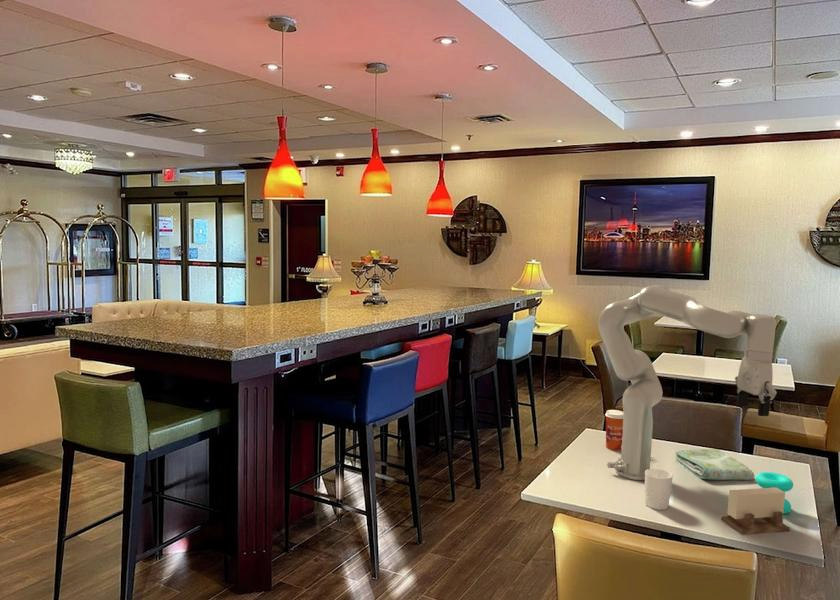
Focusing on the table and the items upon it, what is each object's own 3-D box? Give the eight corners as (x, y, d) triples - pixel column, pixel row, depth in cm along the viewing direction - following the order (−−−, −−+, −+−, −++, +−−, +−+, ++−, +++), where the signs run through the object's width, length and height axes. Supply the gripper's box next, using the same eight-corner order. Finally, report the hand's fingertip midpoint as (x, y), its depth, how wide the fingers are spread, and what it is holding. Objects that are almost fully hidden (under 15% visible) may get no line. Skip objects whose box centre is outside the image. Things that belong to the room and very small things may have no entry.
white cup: (667, 513, 187) (669, 480, 185) (640, 506, 191) (642, 474, 190) (672, 503, 193) (675, 472, 192) (646, 497, 197) (648, 466, 196)
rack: (741, 534, 174) (743, 517, 174) (720, 519, 183) (722, 503, 182) (789, 530, 177) (791, 513, 176) (766, 516, 186) (768, 500, 185)
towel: (718, 459, 233) (719, 445, 233) (754, 482, 212) (756, 467, 212) (671, 460, 231) (672, 446, 231) (703, 483, 210) (704, 468, 210)
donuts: (793, 486, 183) (755, 478, 188) (790, 518, 185) (752, 510, 190) (793, 474, 192) (756, 468, 197) (790, 506, 193) (753, 498, 198)
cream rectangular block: (735, 519, 177) (737, 495, 176) (727, 513, 180) (729, 490, 179) (782, 516, 179) (785, 492, 179) (774, 510, 183) (776, 487, 182)
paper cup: (604, 450, 239) (606, 414, 237) (602, 443, 246) (604, 408, 245) (625, 452, 237) (628, 416, 236) (622, 445, 245) (625, 410, 243)
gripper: (728, 349, 198) (723, 402, 200) (766, 362, 181) (760, 419, 183) (750, 349, 199) (745, 402, 201) (790, 362, 182) (783, 419, 184)
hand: (752, 410), depth 192 cm, fingers open, 9 cm apart
